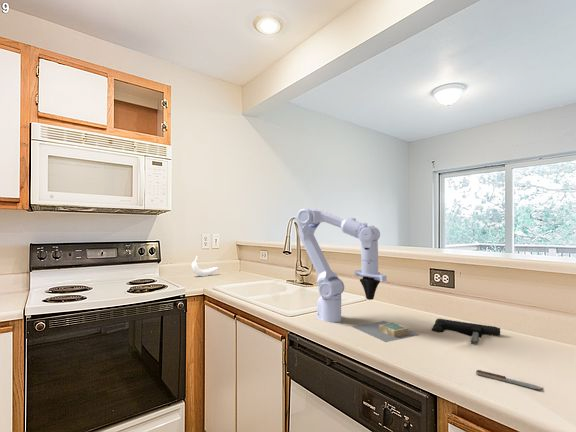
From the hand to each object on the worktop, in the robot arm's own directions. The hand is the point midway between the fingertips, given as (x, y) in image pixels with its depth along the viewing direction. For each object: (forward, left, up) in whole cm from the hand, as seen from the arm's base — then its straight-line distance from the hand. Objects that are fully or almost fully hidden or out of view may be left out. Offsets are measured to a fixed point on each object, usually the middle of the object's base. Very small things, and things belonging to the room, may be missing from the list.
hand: (370, 299), depth 118 cm
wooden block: (+5, +3, -9) cm, 10 cm away
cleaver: (+44, +4, -11) cm, 46 cm away
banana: (-137, -26, -11) cm, 140 cm away
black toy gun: (+19, +24, -11) cm, 33 cm away
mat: (+5, +2, -10) cm, 12 cm away
